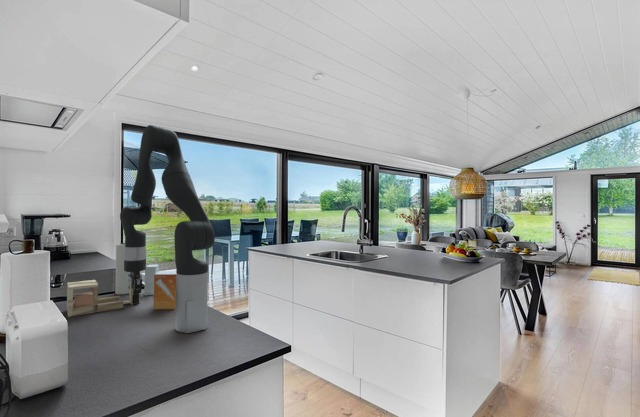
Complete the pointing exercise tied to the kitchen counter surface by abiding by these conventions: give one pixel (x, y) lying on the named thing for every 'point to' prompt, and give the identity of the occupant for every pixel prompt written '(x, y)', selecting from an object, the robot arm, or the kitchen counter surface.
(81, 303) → the tethered block
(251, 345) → the kitchen counter surface
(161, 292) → the small box
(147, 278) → the skincare box
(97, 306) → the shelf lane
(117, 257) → the tall grey box
